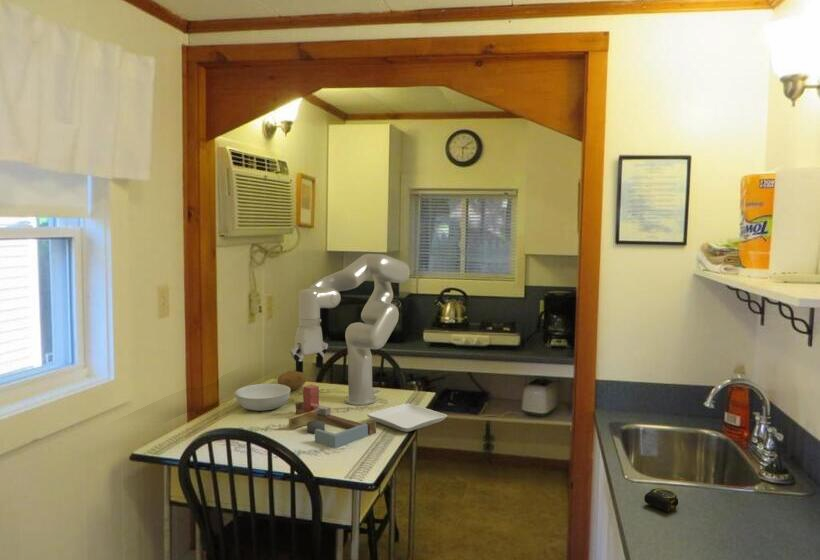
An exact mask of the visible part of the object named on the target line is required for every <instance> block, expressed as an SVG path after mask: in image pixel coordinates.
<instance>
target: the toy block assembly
mask: <svg viewBox="0 0 820 560" xmlns="http://www.w3.org/2000/svg"><path fill="white" fill-rule="evenodd" d="M319 391H320V389H319V385H315V384H308V385H303V388H302V392H303V393H302V396H303V401H302V402H303V410H304V411H307V413H303V414H300V415H298V414H296V415H294V416H290V417H288V429H289V430H294V429H297V428H299V427H303V426H307V423H308V422H309V421H314V420H317V415H318V414H321V415H324V416H327V415H331V407H328V406H325V405H321V404H320V393H319Z"/></svg>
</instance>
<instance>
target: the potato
mask: <svg viewBox="0 0 820 560" xmlns="http://www.w3.org/2000/svg"><path fill="white" fill-rule="evenodd" d="M306 381H307V375H306V372H305V371H304V370H303V372H297V371H296V369H293V370H288V371H285V372H283V373H281V374H280V375H279V376H278V377H277V384H281V385H285V386H288V387H289V388H290V389H291V391H294V390H297V389H299V388H301V387H302V386H305V385H304V384H305V383H306Z"/></svg>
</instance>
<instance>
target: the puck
mask: <svg viewBox="0 0 820 560" xmlns="http://www.w3.org/2000/svg"><path fill="white" fill-rule="evenodd" d="M325 423H326V422H324V421H320V420H314V421H309V422H308V423H307V424H306V432H307V434H309V435H315V430H316V429H320V430H324V431H326V430H325V428H326V427H325V425H326V424H325Z"/></svg>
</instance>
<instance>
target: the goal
mask: <svg viewBox="0 0 820 560" xmlns="http://www.w3.org/2000/svg"><path fill="white" fill-rule="evenodd" d="M368 436H369V435H368V424H367V423H362V425H359V426H356V427H354V428H351V429H345V430H342V431H339V432H337V433H333V432H330V431H327V430H325V431H324V430H320V429H316V430H315V434H314V442H315V443H317V444H321V445H324V446H327V447H329V448H333V449H338V448H340V447H343V446H345V445H349V444H351V443H354V442H356V441H358V440H362V439H364V438H366V437H368Z"/></svg>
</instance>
